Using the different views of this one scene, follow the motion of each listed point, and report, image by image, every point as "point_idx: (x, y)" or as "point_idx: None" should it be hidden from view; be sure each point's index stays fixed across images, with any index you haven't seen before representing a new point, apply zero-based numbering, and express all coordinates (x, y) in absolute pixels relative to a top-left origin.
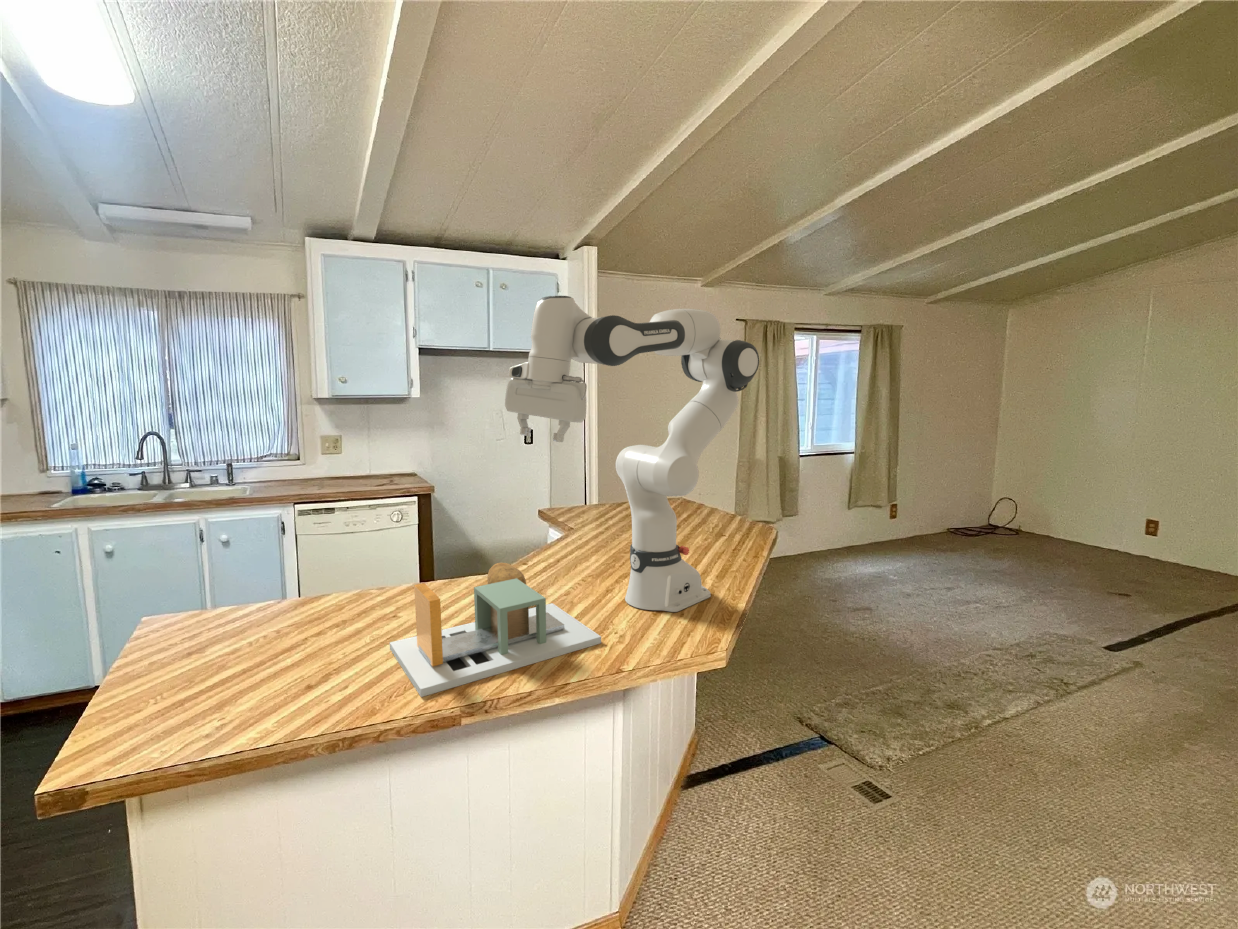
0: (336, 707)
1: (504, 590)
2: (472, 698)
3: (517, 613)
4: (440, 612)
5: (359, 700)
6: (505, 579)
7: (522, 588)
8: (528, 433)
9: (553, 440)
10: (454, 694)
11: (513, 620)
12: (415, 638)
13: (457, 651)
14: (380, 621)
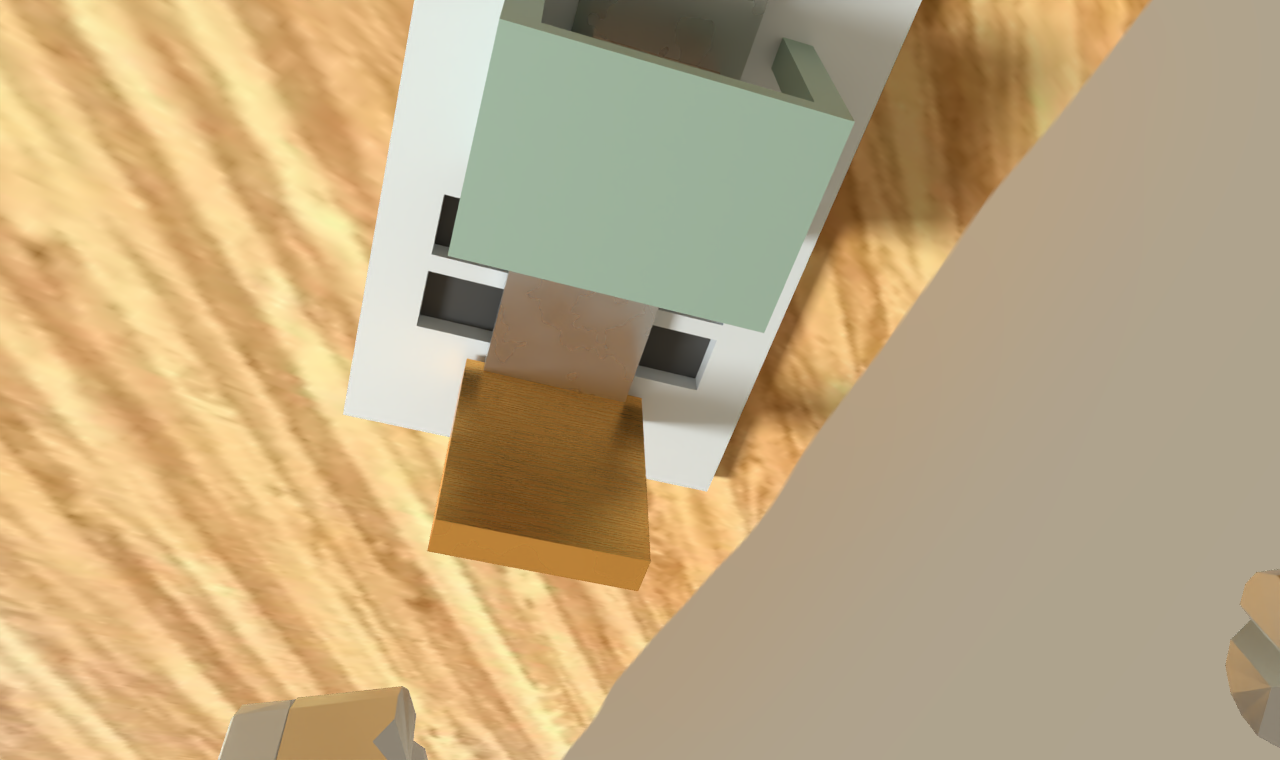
0: (576, 601)
1: (604, 187)
2: (830, 400)
3: None
4: (647, 522)
5: None
6: None
7: (656, 108)
8: (409, 756)
9: (1235, 687)
10: (769, 417)
11: None
12: (374, 347)
13: (630, 349)
14: (63, 312)
